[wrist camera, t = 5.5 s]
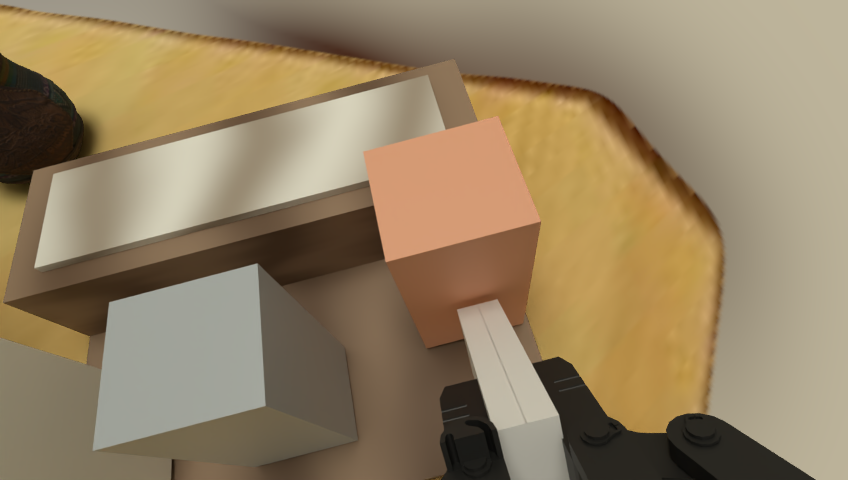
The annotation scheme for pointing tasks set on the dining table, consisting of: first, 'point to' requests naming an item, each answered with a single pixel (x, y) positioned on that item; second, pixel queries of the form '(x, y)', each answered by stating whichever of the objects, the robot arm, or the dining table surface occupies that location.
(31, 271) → the key console
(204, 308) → the slate key
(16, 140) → the mate gourd
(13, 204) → the dining table surface
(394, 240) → the pink tall block
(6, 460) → the ivory key
